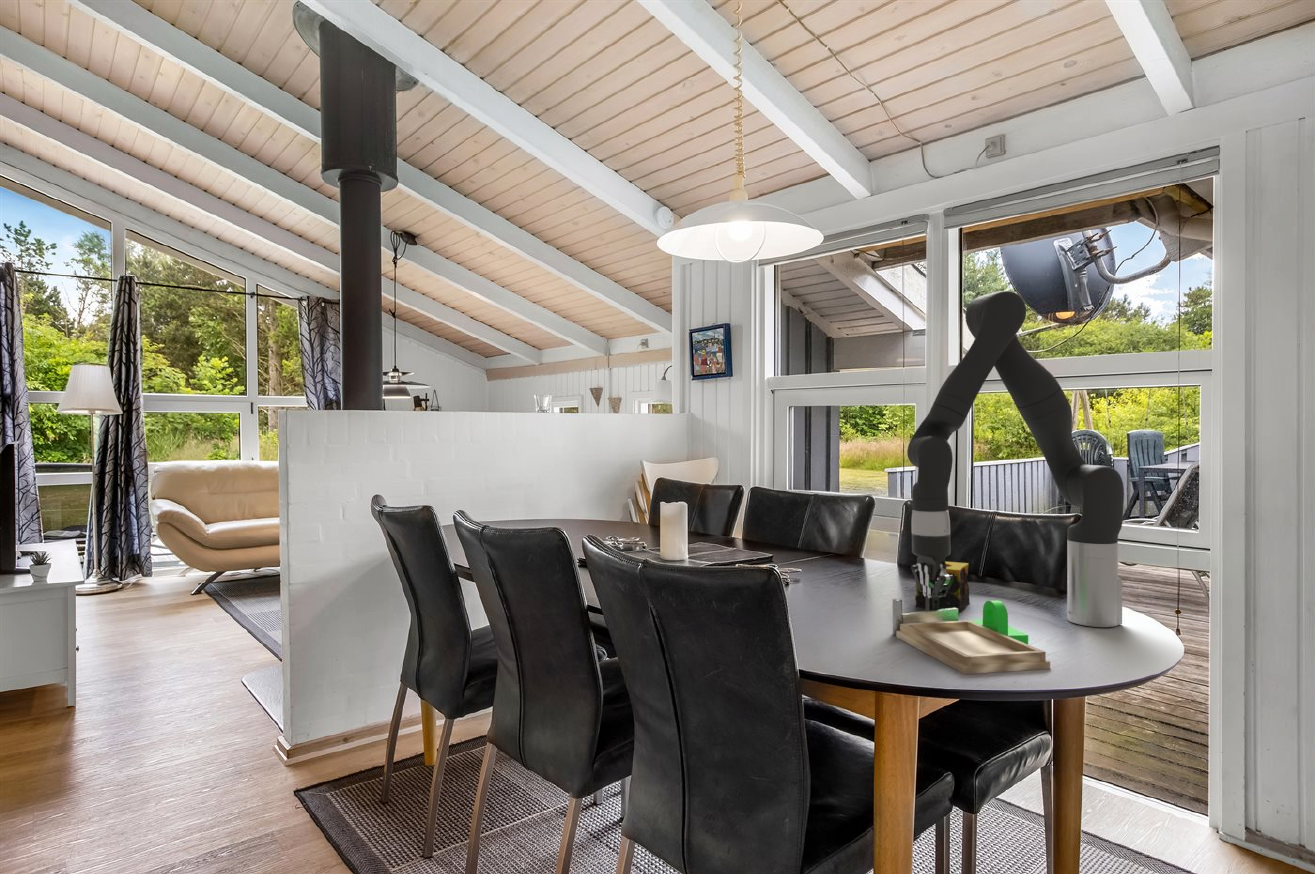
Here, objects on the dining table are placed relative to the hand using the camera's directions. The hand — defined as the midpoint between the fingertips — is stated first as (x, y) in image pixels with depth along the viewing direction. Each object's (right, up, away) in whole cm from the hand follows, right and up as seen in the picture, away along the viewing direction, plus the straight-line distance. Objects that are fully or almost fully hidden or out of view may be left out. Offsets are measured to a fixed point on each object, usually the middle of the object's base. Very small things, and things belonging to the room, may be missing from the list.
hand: (932, 614), depth 154 cm
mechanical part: (+10, -3, -7) cm, 13 cm away
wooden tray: (0, -3, -18) cm, 18 cm away
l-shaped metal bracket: (-3, -2, -3) cm, 5 cm away
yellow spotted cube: (+9, -3, +18) cm, 20 cm away
